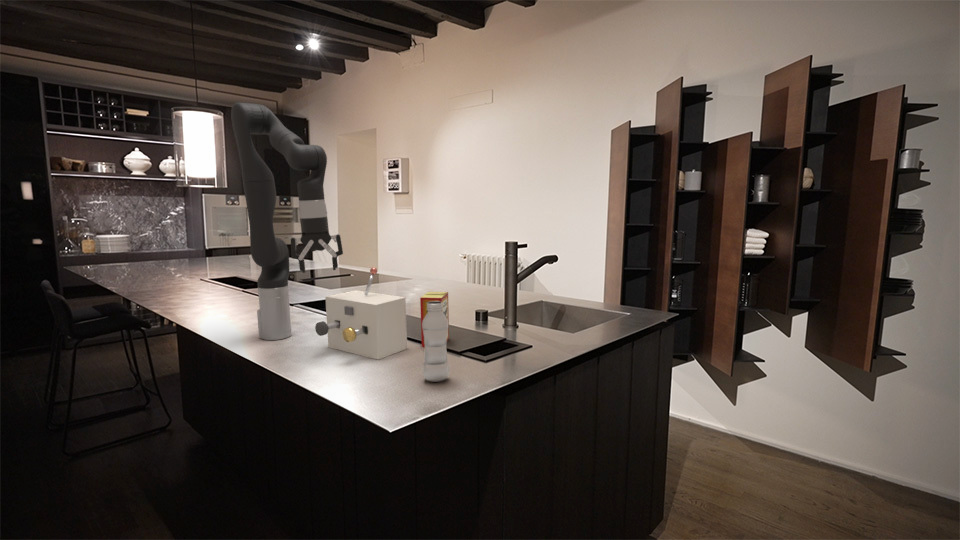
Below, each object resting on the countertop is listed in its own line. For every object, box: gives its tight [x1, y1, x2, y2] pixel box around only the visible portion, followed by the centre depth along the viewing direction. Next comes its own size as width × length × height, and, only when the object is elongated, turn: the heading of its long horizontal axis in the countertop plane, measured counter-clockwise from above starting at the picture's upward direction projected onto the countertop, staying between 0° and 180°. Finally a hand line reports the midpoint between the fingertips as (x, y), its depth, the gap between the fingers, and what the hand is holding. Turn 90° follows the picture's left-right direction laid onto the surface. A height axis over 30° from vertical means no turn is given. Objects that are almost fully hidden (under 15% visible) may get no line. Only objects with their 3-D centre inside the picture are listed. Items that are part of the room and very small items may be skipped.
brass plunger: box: [342, 327, 368, 342], centre depth 137 cm, size 4×7×4 cm, turn 146°
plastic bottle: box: [422, 301, 450, 383], centre depth 120 cm, size 6×7×20 cm
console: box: [324, 289, 408, 361], centre depth 147 cm, size 22×13×16 cm, turn 56°
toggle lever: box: [364, 267, 378, 296], centre depth 148 cm, size 2×2×9 cm
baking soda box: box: [419, 291, 450, 348], centre depth 152 cm, size 10×6×16 cm
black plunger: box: [314, 320, 340, 337], centre depth 144 cm, size 4×7×4 cm, turn 146°
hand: (319, 271), depth 142 cm, fingers open, 8 cm apart
